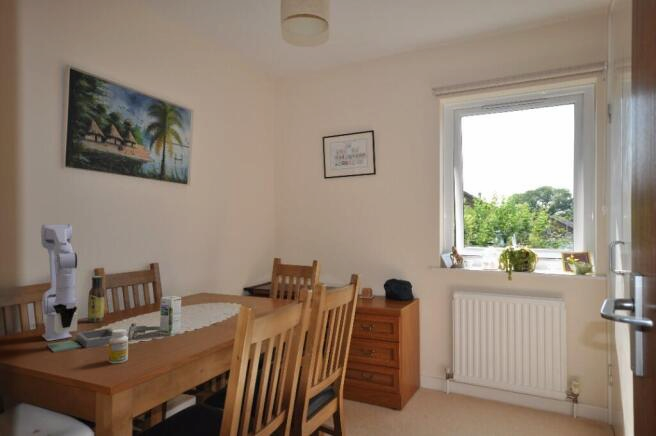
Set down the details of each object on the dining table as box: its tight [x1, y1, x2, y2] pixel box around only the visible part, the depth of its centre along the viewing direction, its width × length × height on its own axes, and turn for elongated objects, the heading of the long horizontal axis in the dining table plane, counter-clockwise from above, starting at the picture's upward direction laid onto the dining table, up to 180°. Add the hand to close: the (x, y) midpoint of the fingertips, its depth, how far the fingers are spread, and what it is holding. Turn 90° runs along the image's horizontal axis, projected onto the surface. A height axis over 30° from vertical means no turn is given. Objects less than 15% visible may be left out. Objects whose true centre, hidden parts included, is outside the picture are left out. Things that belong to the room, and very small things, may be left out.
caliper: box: [127, 322, 160, 341], centre depth 162 cm, size 20×1×6 cm, turn 156°
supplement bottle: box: [108, 328, 129, 364], centre depth 130 cm, size 5×5×10 cm
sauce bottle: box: [87, 275, 106, 323], centre depth 180 cm, size 6×6×20 cm
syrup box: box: [159, 295, 182, 336], centre depth 163 cm, size 6×6×14 cm
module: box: [54, 311, 79, 333], centre depth 144 cm, size 4×6×7 cm
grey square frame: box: [75, 327, 114, 349], centre depth 151 cm, size 13×11×2 cm
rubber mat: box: [47, 339, 82, 353], centre depth 143 cm, size 10×8×1 cm
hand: (64, 325), depth 143 cm, fingers closed on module, 4 cm apart
